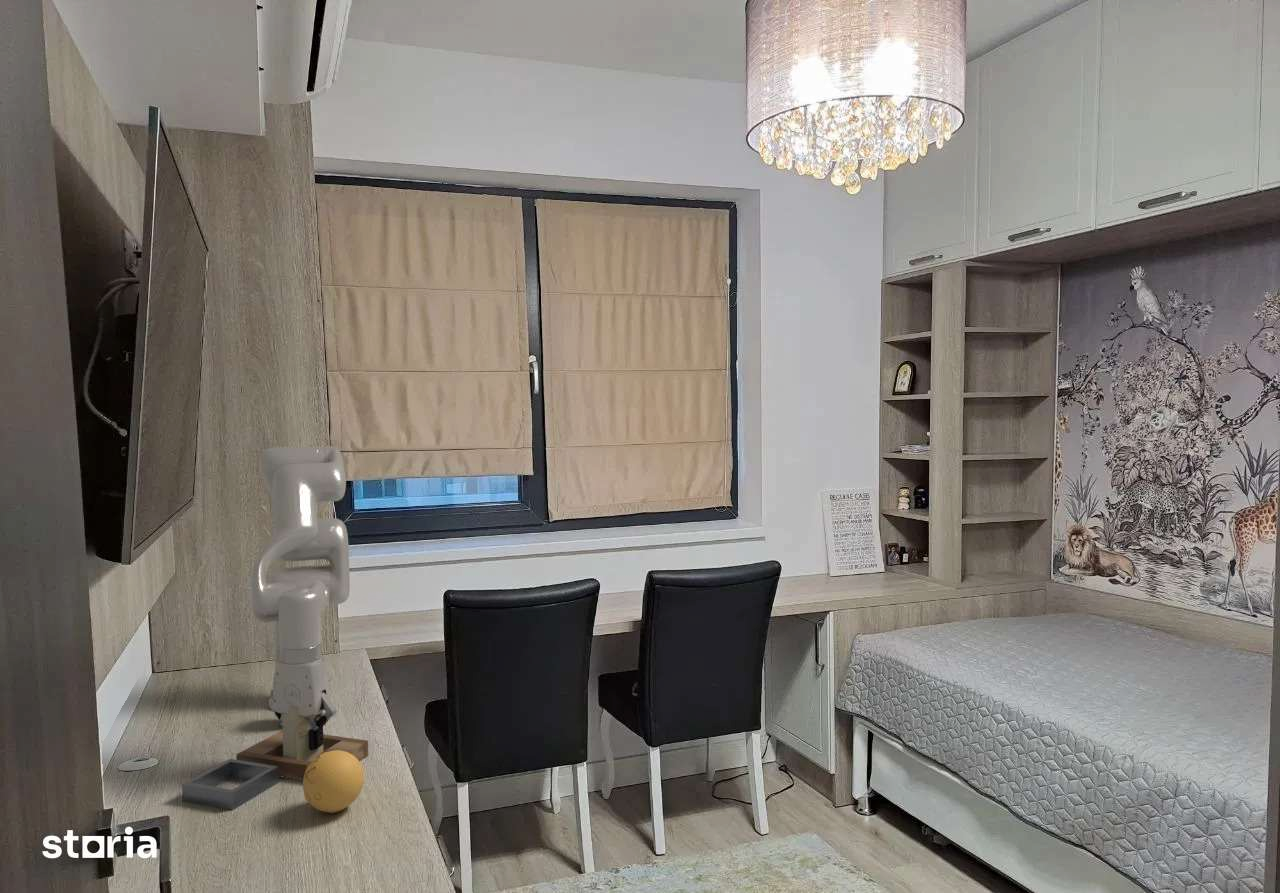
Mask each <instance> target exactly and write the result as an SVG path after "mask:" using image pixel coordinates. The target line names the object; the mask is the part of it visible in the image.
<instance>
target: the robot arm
mask: <svg viewBox="0 0 1280 893" xmlns="http://www.w3.org/2000/svg"><path fill="white" fill-rule="evenodd" d="M258 467H259V472H260V475H261V478H262V480H263V483H264V485H265V486H266V488H267V491H268V492H269V495H270V498H271V501H272V509H273V536H272V537H271V538H270V539H269V540H268V541H267V543H265V545H263V547H262V548H261V549H260V551H259V552H258V554H257V555H256V558H254V561H253V565H252V567H251V568H252V569H251V573H250V574H251V575H250V594H251V595H250V596H251V597H250V598H251V599H250V600H251V612H252V614H253V616H254V618H255V619H256V620H257V621H259V622H264V623H269V622H270V623H272V622H273V628H274V630H273V632H274V661H275V662H274V665H275V667H274V672H273V682H272V690H273V699H272V696H271V697H270V698H269V700H268V707H269V708H270V709H271V710H272V712H274V714H275V715H274V716H275V717H277V719H278V720H279V725H280V726H281V727H283V716H282V714H288V709H289V706H291V707H292V706H294V707H298V715H299V716H303V717H309V721H310V724H311V727H312V729H311V730H309V749H310V750H312V751H314V750H315V749H317V748H319V747H320V746H322V745H323V734H324V726H326V725H327V723H328V722H329V720H331V718H333V716H335V715H336V714H337V713H338V709H336V707H335V705H334V704H333V703H332V701H331V700H330V685H329V682H331V681H332V680H333V676H332V674H330V673H328V671H327V666H326V662H325V659H323V652H322V651H323V650H322V649H323V646H322V642H323V641H322V616H323V614H324V613H325V612H326V609H328V607H329V606H334V605H341V604H343V603H345V602H346V601H347V600H348V599H349V596H350V589H351V588H350V587H351V581H350V577H351V575H350V557H349V556H350V554H349V553H350V552H349V550H350V549H349V536H348V535H349V534H348V530H347V527H346V524H345V523H344V521H343V520H341V519H339V518H332V517H326V518H325V517H324V518H318V508H317V507H318V506H317V503H323V502H325V503H326V502H339V501H341V500H342V499H344V496H345V492H346V486H347V478H346V470H345V464H344V459H343V456H342V453H341V451H340V449H338V448H337V447H336V446H331V445H313V446H312V445H310V446H309V445H308V446H306V445H305V446H303V445H300V446H298V445H297V446H294V445H293V446H278V447H271V448H267V449H264V450H263V451H262V452H260V454H259V458H258ZM277 559H279V560H281V561H284V562H302V561H303V562H304V561H315V560H326V561H327V562H328V563H329V564H318V565H317V564H316V565H301V566H290V567H284V568H281V569H278V570H276V571H275V572H273V573H272V575H271V576H270V578H269V580H268V583H267V579H266V578H267V572H268V570H269V567H270V566H271V565H272V564H273V563H274V562H275V561H276V560H277ZM324 712H325V713H324ZM316 715H317V717H318V720H316Z"/></svg>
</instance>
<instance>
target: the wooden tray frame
mask: <svg viewBox="0 0 1280 893" xmlns="http://www.w3.org/2000/svg"><path fill="white" fill-rule="evenodd" d="M334 750H340V751H345V752H348V753H350V754H352V755H353V756H355V757H356V758H357V759H358V761H359V762H361V761H363V760H364V759H366V758H367V757H368V756H369V740H366V739H360V738H354V737H345V736H338V735H332V734H331V735H330V734H325V733H323V752H322V753H320V754H318V755H317V756H319V755H321V754H323V753H326V752H329V751H334ZM317 756H315V757H313V758H312V759H310V760H308V761H303V760H297V759H290V758H284V757H283V729H282V730H280V731H278V732H276V733H274V734H272V735H270V736H268V737H267V738H265V739H263V740H261V741H259V742H257V743H255V744H252V745H251V746H249V747H248V748H246V749H244V750H242V751H240V752H238V753H236V760H241V761H247V762H253V763H260V764H266V765H272V766H278V773H279V776H283V777H282V778H285V777H288V778H287V779H291V778H295V779H294V780H297V779H301V780H300V781H303V779H304V775H305V770H306V768H307V767H308V765H310V764H311V763H312V762H313V761H314V759H315V758H316V757H317Z"/></svg>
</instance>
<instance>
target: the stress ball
mask: <svg viewBox="0 0 1280 893" xmlns="http://www.w3.org/2000/svg"><path fill="white" fill-rule="evenodd" d="M364 782H365V774H364V768H363V766H362V764H361V761H358V759H357V758H356V757H355V756H353V755H352V754H350V753H348V752H345V751H340V750H334V751H329V752H326V753H323V754H321V755H319V756H317V757H316V758H315V759H314V761H313V762H312V763H311V764H310V765H308V767H307V768H306V770H305V775H304V779H303V780H302V790H303V796H304V799H305V800H306V801H307V803H309V805H310V806H311V807H313V808H314V809H316V810H318V811H321V812H325V813H328V814H336V813H339V812H342V811H343V810H344V809H346V808H347V807H349V806H351V805H352V804H353V803H354V802H355V801H356V800H357V798H358V797H359V796H360V793H361V791H362V789H363V786H364Z"/></svg>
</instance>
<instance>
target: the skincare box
mask: <svg viewBox="0 0 1280 893" xmlns="http://www.w3.org/2000/svg"><path fill="white" fill-rule="evenodd" d="M282 716H283V726H282V730H283V757H284V758H290V759H297V760H303V761H308V760H310V759H312V758H313V757H315V756H317V755H318V754H320V753H322V752H323V745H322V746H320V747H319V748H317V749H315V750H314V751H312V750H310V749H309V730H311V729H312V727H311V724H310V721H309V717H303V716H299V715H298V707H294V706H292V707H291V706H289V709H288V714H282ZM316 720H318V717H317V715H316Z"/></svg>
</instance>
